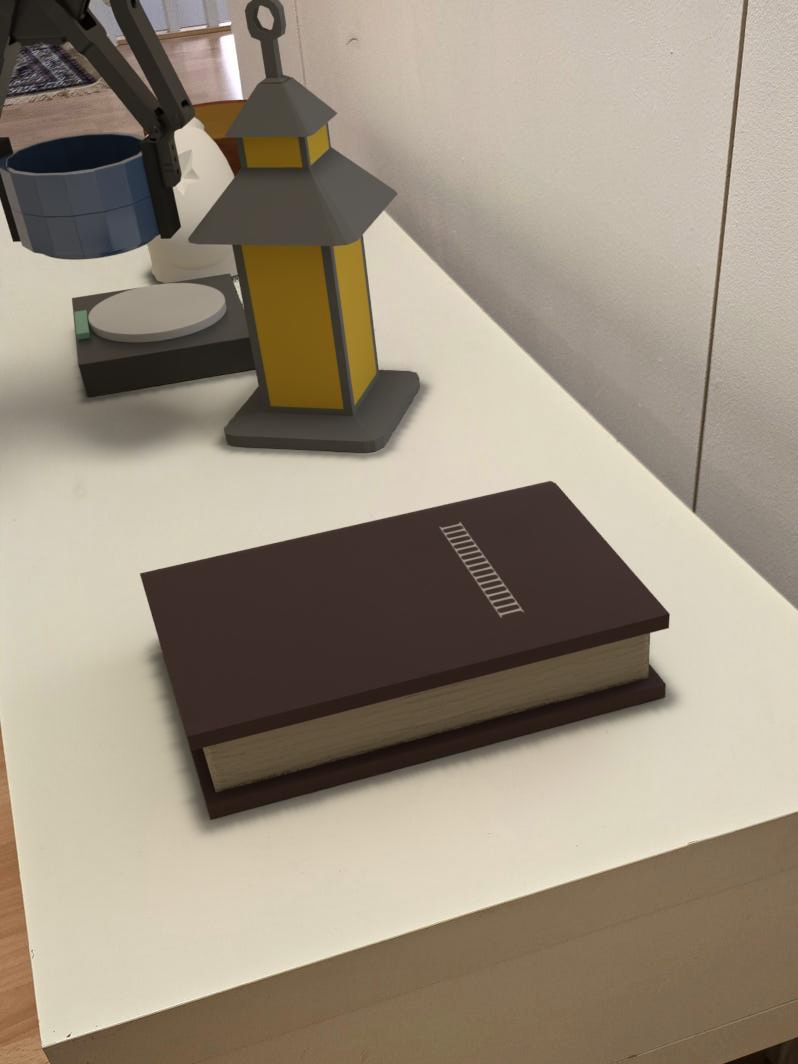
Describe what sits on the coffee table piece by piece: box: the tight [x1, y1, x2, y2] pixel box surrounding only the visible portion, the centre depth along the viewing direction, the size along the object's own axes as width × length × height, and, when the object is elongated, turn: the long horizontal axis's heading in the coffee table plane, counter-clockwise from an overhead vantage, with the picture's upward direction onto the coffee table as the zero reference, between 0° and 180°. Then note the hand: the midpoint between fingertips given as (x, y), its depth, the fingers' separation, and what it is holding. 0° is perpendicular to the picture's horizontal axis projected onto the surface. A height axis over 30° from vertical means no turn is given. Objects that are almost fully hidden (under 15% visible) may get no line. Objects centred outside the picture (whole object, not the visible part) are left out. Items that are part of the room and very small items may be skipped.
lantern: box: [188, 0, 421, 453], centre depth 96 cm, size 14×14×30 cm
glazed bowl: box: [0, 131, 160, 261], centre depth 92 cm, size 11×11×6 cm
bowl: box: [142, 99, 248, 177], centre depth 146 cm, size 18×18×10 cm
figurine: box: [146, 117, 238, 284], centre depth 128 cm, size 11×11×15 cm
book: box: [139, 480, 671, 820], centre depth 76 cm, size 28×20×6 cm
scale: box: [71, 274, 255, 398], centre depth 118 cm, size 16×18×4 cm
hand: (97, 234), depth 94 cm, fingers closed on glazed bowl, 11 cm apart
